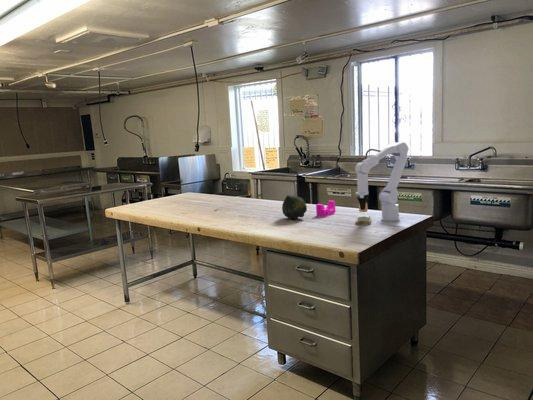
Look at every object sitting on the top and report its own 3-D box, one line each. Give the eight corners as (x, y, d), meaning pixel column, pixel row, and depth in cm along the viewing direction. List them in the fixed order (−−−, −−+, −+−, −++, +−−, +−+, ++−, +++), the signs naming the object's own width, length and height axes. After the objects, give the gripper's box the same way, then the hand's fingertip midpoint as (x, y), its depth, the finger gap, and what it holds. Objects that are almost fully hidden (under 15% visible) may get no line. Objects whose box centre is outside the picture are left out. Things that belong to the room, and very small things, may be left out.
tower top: (370, 218, 236) (370, 214, 235) (369, 221, 230) (368, 217, 230) (359, 218, 238) (359, 214, 237) (357, 221, 232) (357, 217, 232)
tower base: (371, 222, 237) (371, 218, 236) (370, 225, 229) (370, 221, 229) (357, 222, 239) (357, 218, 239) (355, 225, 232) (355, 221, 231)
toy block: (324, 217, 255) (324, 205, 254) (316, 216, 260) (316, 204, 258) (338, 212, 266) (338, 201, 265) (330, 211, 270) (330, 200, 269)
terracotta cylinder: (367, 210, 234) (367, 202, 234) (367, 211, 230) (366, 203, 229) (359, 210, 236) (359, 202, 235) (358, 211, 232) (358, 204, 231)
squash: (296, 222, 246) (295, 197, 243) (277, 219, 256) (276, 195, 253) (311, 217, 256) (310, 193, 253) (293, 215, 266) (291, 192, 263)
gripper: (356, 182, 239) (357, 206, 241) (353, 186, 225) (354, 211, 227) (369, 182, 236) (369, 206, 239) (367, 186, 223) (367, 211, 225)
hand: (363, 208), depth 233 cm, fingers closed on terracotta cylinder, 4 cm apart
